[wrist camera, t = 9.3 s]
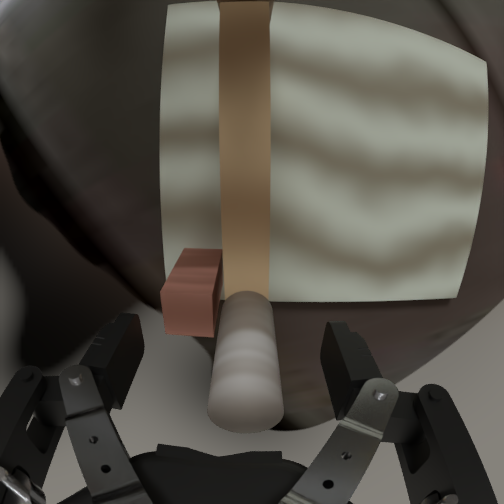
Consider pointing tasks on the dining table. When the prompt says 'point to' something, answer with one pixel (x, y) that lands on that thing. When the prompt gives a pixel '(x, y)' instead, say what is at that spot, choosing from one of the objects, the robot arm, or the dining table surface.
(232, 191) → the wooden panel
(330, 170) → the towel on rod
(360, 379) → the robot arm
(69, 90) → the dining table surface
